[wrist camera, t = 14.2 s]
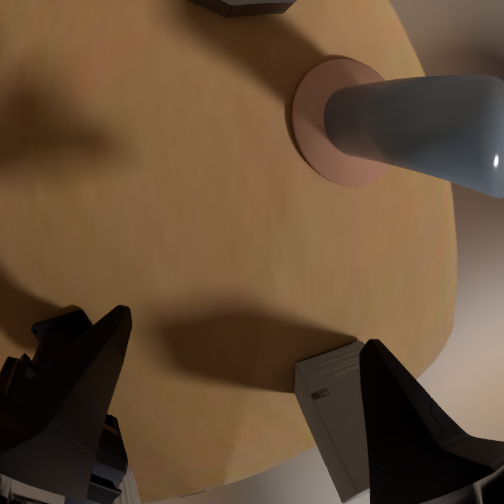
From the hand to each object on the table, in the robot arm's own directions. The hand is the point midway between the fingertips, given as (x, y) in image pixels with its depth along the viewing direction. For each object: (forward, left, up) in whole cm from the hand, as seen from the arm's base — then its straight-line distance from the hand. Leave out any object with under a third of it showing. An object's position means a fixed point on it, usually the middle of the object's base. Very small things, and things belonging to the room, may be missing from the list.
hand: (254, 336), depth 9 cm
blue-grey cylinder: (+12, +5, -10) cm, 17 cm away
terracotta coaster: (+12, +5, -11) cm, 17 cm away
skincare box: (+7, -20, -11) cm, 23 cm away
